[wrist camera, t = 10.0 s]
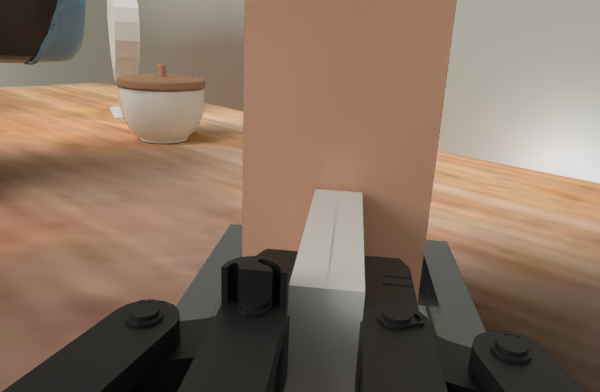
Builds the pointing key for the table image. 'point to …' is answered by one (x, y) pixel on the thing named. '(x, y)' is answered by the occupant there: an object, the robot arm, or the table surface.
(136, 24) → the heart sculpture
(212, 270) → the grey tray
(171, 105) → the lidded jar
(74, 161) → the table surface
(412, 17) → the terracotta block
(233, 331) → the robot arm
